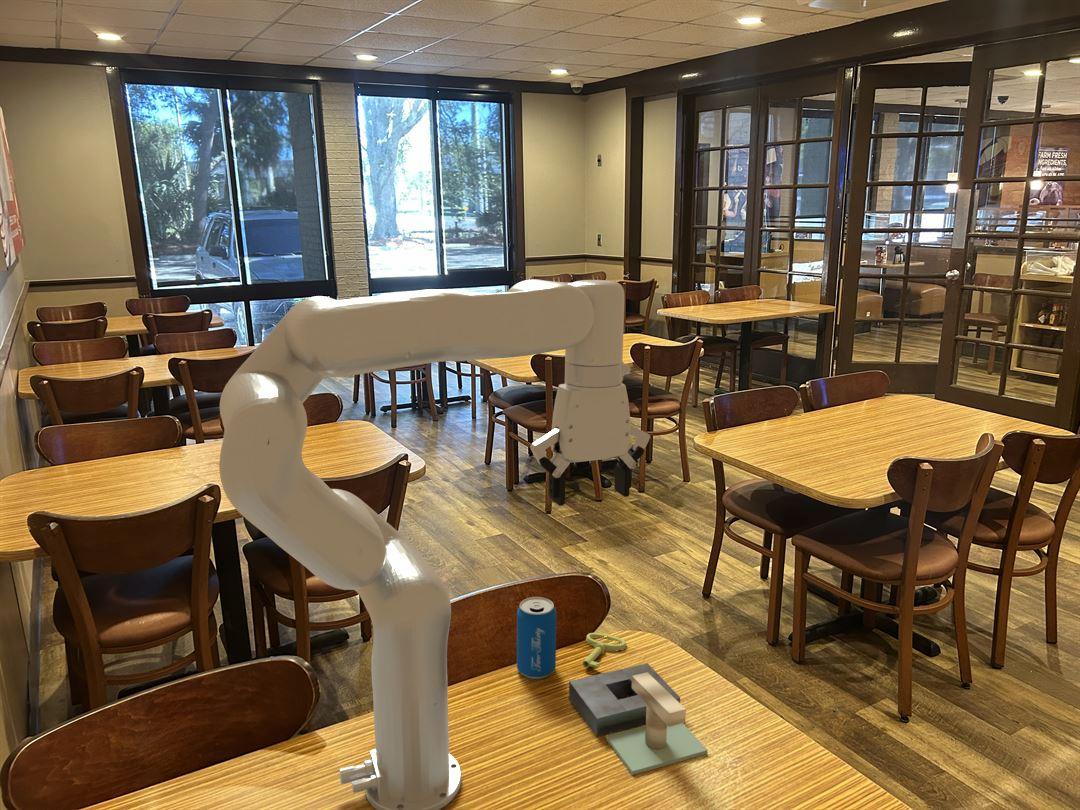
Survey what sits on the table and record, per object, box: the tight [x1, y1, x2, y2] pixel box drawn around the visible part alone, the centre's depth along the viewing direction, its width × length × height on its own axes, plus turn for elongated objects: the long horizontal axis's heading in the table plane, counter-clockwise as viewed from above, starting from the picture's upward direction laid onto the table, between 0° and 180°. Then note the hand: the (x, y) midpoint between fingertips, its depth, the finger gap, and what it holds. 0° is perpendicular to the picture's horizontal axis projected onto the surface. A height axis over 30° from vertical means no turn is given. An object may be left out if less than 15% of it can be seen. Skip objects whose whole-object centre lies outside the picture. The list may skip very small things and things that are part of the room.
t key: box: [632, 672, 687, 749], centre depth 109 cm, size 10×3×8 cm, turn 23°
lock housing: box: [568, 663, 681, 737], centre depth 119 cm, size 14×10×3 cm
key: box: [582, 632, 627, 669], centre depth 133 cm, size 7×12×2 cm, turn 173°
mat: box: [605, 723, 708, 776], centre depth 110 cm, size 12×8×1 cm, turn 112°
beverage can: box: [516, 596, 557, 680], centre depth 127 cm, size 6×6×12 cm
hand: (590, 497), depth 105 cm, fingers open, 9 cm apart
